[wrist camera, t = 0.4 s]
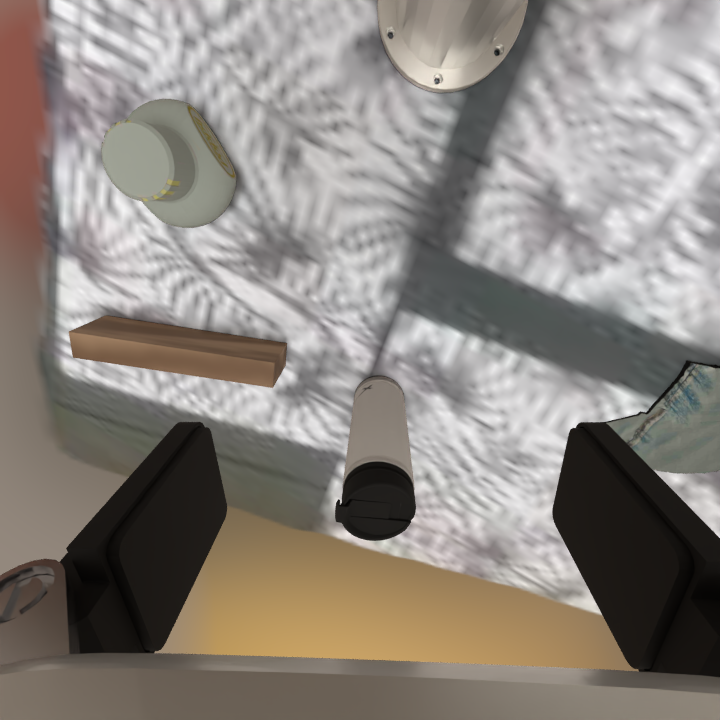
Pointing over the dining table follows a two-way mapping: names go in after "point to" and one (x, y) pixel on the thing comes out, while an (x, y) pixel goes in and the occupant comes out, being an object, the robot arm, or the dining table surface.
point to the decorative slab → (679, 424)
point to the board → (180, 350)
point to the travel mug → (377, 464)
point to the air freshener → (170, 163)
